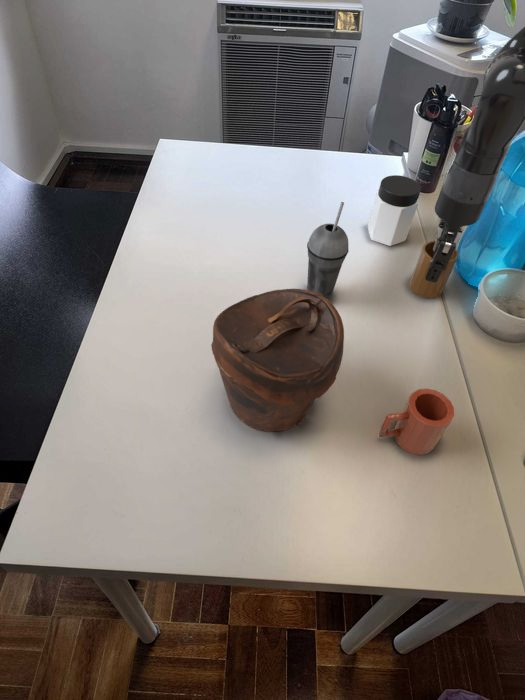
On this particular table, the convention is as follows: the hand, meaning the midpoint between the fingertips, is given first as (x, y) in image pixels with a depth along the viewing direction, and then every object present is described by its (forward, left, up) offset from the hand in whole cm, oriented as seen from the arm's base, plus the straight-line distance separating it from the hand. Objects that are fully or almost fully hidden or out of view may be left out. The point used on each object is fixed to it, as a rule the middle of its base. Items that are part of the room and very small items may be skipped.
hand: (433, 268), depth 90 cm
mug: (+17, +32, -5) cm, 36 cm away
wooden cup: (0, 0, -5) cm, 5 cm away
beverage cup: (+22, 0, -5) cm, 23 cm away
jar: (+2, -18, -5) cm, 19 cm away
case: (+35, +22, -5) cm, 42 cm away
